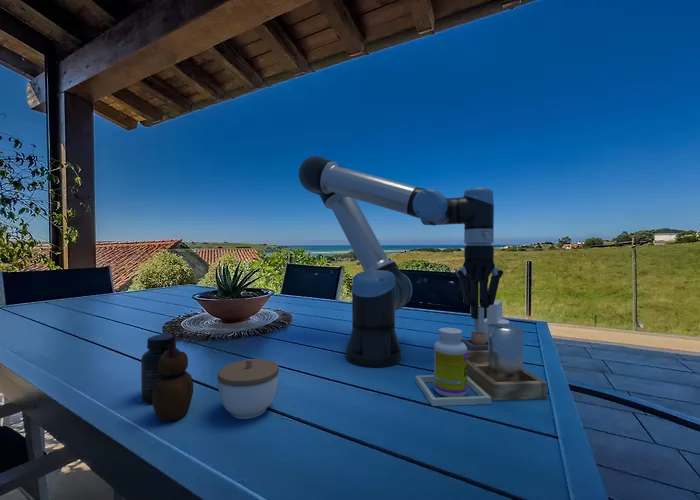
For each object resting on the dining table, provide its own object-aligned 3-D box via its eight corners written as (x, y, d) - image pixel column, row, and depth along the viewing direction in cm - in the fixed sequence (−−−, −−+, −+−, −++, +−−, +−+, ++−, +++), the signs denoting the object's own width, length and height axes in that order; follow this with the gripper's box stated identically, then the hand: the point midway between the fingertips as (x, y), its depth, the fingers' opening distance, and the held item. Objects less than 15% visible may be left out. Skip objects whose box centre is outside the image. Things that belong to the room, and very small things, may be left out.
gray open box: (472, 361, 85) (472, 346, 85) (461, 353, 92) (461, 339, 92) (497, 361, 85) (497, 345, 85) (484, 352, 92) (484, 338, 92)
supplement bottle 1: (155, 388, 68) (155, 332, 68) (187, 389, 68) (187, 332, 68) (133, 404, 62) (132, 341, 62) (168, 404, 61) (168, 342, 61)
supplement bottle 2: (469, 400, 63) (469, 335, 63) (434, 397, 64) (435, 333, 64) (464, 386, 70) (464, 327, 70) (433, 383, 71) (433, 325, 71)
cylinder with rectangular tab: (483, 333, 113) (483, 299, 113) (512, 337, 108) (512, 301, 108) (477, 339, 106) (477, 302, 106) (506, 344, 101) (507, 305, 101)
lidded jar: (218, 432, 52) (218, 374, 52) (217, 403, 62) (217, 354, 62) (284, 418, 56) (284, 365, 56) (273, 393, 66) (273, 348, 66)
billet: (498, 392, 65) (498, 331, 65) (482, 379, 72) (482, 323, 72) (530, 391, 66) (530, 330, 66) (511, 378, 73) (511, 323, 73)
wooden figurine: (165, 407, 60) (165, 327, 60) (197, 405, 61) (197, 326, 61) (146, 427, 54) (145, 337, 54) (181, 425, 54) (181, 336, 54)
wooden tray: (493, 400, 63) (493, 384, 63) (452, 362, 84) (452, 351, 84) (547, 398, 64) (547, 383, 64) (493, 361, 85) (493, 350, 85)
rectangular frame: (432, 406, 61) (432, 399, 61) (415, 381, 72) (415, 375, 72) (491, 404, 62) (491, 397, 62) (465, 379, 73) (465, 374, 73)
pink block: (475, 353, 87) (475, 334, 87) (468, 349, 90) (468, 331, 90) (488, 353, 87) (488, 334, 87) (482, 348, 91) (482, 331, 91)
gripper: (461, 244, 84) (461, 334, 84) (509, 244, 85) (509, 333, 85) (450, 245, 92) (450, 327, 92) (494, 245, 93) (494, 326, 93)
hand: (479, 330), depth 89 cm, fingers closed
